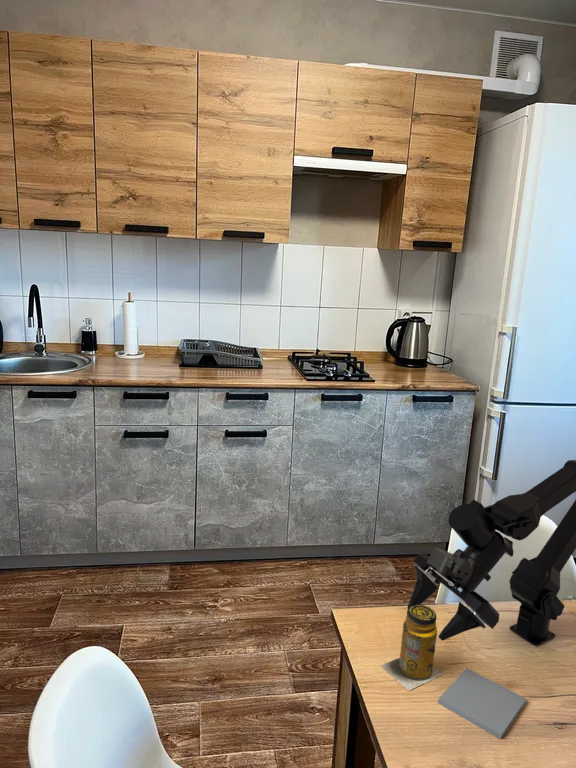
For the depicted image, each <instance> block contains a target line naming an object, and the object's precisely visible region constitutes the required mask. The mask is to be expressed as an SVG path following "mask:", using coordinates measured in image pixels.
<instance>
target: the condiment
mask: <svg viewBox="0 0 576 768" xmlns="http://www.w3.org/2000/svg"><path fill="white" fill-rule="evenodd" d="M437 632H438V628H437V613H436V612H435V610H434V609H432V608H431V607H430V606H427V605H425V604H420V605H412V606H410V607H409V608H407V610H406V616H405V620H404V622H403V624H402V635H401V646H400V654H399V657H398V658H395V659H392V660H390V661H389V662H386V663H384V664H381V667H382V668H383V670H385V671H386V672H387V673H388V674H390V675H391V677H393V678H394V679H395V680H396V681H397V682H398V683H399V684H401V685H402V686H403V687H404V688H406V689H407V690H408V691H409V692H410V691H412V690H413V689H416V688H417V687H419V686H421V685H424V684H425V683H426V684H427V683H429V682H430V681H432V680H434V679H436V678H437V677H440V676H441V675H443V673H442V672H441V671H439V670H438V669H437V668H435V667H434V662H435V661H434V660H435V651H436V642H437V636H438V633H437Z"/></svg>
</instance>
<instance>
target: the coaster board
mask: <svg viewBox="0 0 576 768" xmlns="http://www.w3.org/2000/svg"><path fill="white" fill-rule="evenodd" d="M437 703H438V705H441V706H442V707H444V708H445V709H447V710H449V711H451V712H452V713H454V714H456V715H458V716H460V717H462V718H463V719H464V720H467V721H469V722H470V723H472V724H474V725H475V726H477V727H479V728H480V729H483V730H484V731H486V732H487V733H489V734H491V735H492V736H495V737H496V738H498V739H500V740H501V739H502V738H503V737H504V735H505V734H506V733H507V731H508V729H509V728H510V727H511V725H512V724H513V722H514V721H515V719H516V718H517V716H518V715H519V714H520V712H521V711H522V709H523V708H524V706H525V705H526V703H527V698H526V697H524V696H523V695H520V694H518V693H516V692H514V691H512V690H510V689H508V688H507V687H505V686H502V685H500V684H499V683H497V682H495V681H494V680H491V679H490V678H487V677H485V676H483V675H482V674H480V673H478V672H475V671H473V670H471V669H469V668H468V667H465V669H464V670H463V671H462V672H461V673H460V674H459V675H458V677H457V678H456V679H455V680H454V681H453V682H452V683H451V685H450V686H449V687H448V688H447V689H446V690H445V691H444V692H443V693H442V694H441V696H440V697H439V698H438V699H437Z"/></svg>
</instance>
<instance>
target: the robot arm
mask: <svg viewBox="0 0 576 768" xmlns="http://www.w3.org/2000/svg"><path fill="white" fill-rule="evenodd" d="M574 493H576V459H569V460H567V461H566V462H565V463H564V464H563V466H562V467H561V468H559V470H557V471H555V472H554V473H553V474H551V475H549V476H548V477H547V478H545V479H544V480H541V482H539V483H538V484H536V485H534V486H533V487H531V489H529V490H527V491H525V492H524V493H520V494H519V493H518V494H511V495H510V494H509V495H507V496H505V497H503V498H501V499H499V500H496V502H494V503H493V504H491V505H488V506H484V505H483V504H482V503H481V502H479V500H478V501H477V500H476V499H472V500H471V501H470V503H463V504H460V505H459V506H457V507H454V508H452V510H451V511H450V513H449V515H448V525H449V526H450V527H451V529H452V530H453V531H454V532H455V533H456V534H457V535H458V537H459V538H460V539H461V540H462V541H463V543H464V544H465V545H466V547H465V548H464V550H463V549H460V548H458V549H456V550H455V551H454V552H453V553H451V552H449V551H446V550H444V549H441V548H439V547H436V546H434V547H433V549H432V551H431V553H430V556H429V555H428V554H426V553H425V552H422V553H418V554H417V555H416V556H415V557H414V559H413V560H412V562H413V563H414V570H415V571H416V582H415V585H414V589H413V591H412V595H411V597H410V599H409V602H408V604H407V609H408V608H409V607H410V606H412V605H422V604H423V603H424V602H426V601H427V599H428V598H429V597H430V596H432V595H433V594H434V593H435V592H436V591H437V590H439V587H438V586H437V584H438V585H440V584H441V585H443V586H444V587H445V588H447V589H448V590H450V592H451V593H453V594H454V595H455V596H457V598H459V599H461V600H462V601H463V602H464V603H462V602H461V601H458V606H457V612H456V613H455V614H454V616H452V618H451V619H450V621H449V622H448V623H447V624H446V626H444V627H443V629H442V630H441V632H440V634H439V635H438V638H439V639H440V641H445V640H447V639H450V638H452V637H454V636H457V635H460V634H462V633H464V632H467V631H470V630H473V629H477V628H480V627H481V628H482V629H485V628H486V627H488V628H491V630H494V629H495V627H496V625H497V624H499V622H500V621H499V620H500V613H499V612H498V610H496V609H495V608H494V606H493V605H492V604H491V603H490V602H489V600H488V599H486V598H484V597H483V596H482V595H480V594H479V593H478V592H476V589H477V588H478V587H479V586H480V585H481V583H482V582H483V581H484V580H485V581H486V582H489V581H490V580H491V578H492V576H491V575H490V574H489V573H490V572H491V571H492V569H493V568H494V567H495V566H496V565H497V563H498V562H499V561H500V560H501V558H503V557H504V555H505V554H506V555H507V556H509V557H511V558H512V557H513V556H514V548H513V545H514V542H513V540H516V541H523V540H525V539H526V538H528V537H529V536H530V535H531V534H532V533H533V532H534V531H535V530H536V529H537V528H538V527H539V525H540V522H541V517H543V516H544V515H545V514H546V513H547V512H549V511H550V510H551V509H553V508H554V507H555V506H557V505H559V504H560V503H561V502H563V501H565V500H566V499H568V497H570V496H572V494H574ZM502 534H503V535H505V536H503V535H502ZM507 537H508V538H507ZM509 537H510V538H511V539H513V540H510V539H509ZM575 551H576V498H575V499H574V501H573V502H572V505H571V506H570V507H569V508H568V509H567V511H566V513H565V515H564V516H563V518H562V519H561V520H560V522H559V523H558V525H557V527H556V528H555V530H554V531H553V532H552V534H551V535H550V537H549V538H548V540H547V542H546V543H545V544H544V546H543V547H542V548H541V550H540V552H539V554H538V555H537V556H535V557H534V558H533V557H532V558H530V559H528V558H526V557H523V558H522V559H521V560H520V561H519V563H518V565H517V567H516V568H515V569H514V570H513V571H511V574H512V575H511V576H510V578H509V588H510V593H511V597H512V599H514V600H516V601H518V602H519V603H520V606H519V610H518V614H517V620H516V623H514V624H513V625H510V626H509V630H510V631H511V632H513V633H515V634H516V635H518V636H520V637H521V638H522V639H524V640H525V641H526V642H529V643H530V644H532V645H533V646H535V647H538V646H540V645H543V644H544V643H546V642H548V641H550V640H553V639H554V638H555V637H556V634H555V633H553V632H552V631H550V630H549V629H550V623H551V620H552V621H556V620H558V617H561V615H562V614H563V611H564V609H565V604H564V603H563V602H562V601H561V600H560V599H559V597H558V593H559V592H560V590H561V572H562V571H563V569H564V567H565V565H566V564H567V563H568V561H569V559H570V558H571V557H572V555H573V553H574V552H575ZM458 589H461V590H458ZM465 605H466V606H465ZM486 625H487V626H486Z"/></svg>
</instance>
